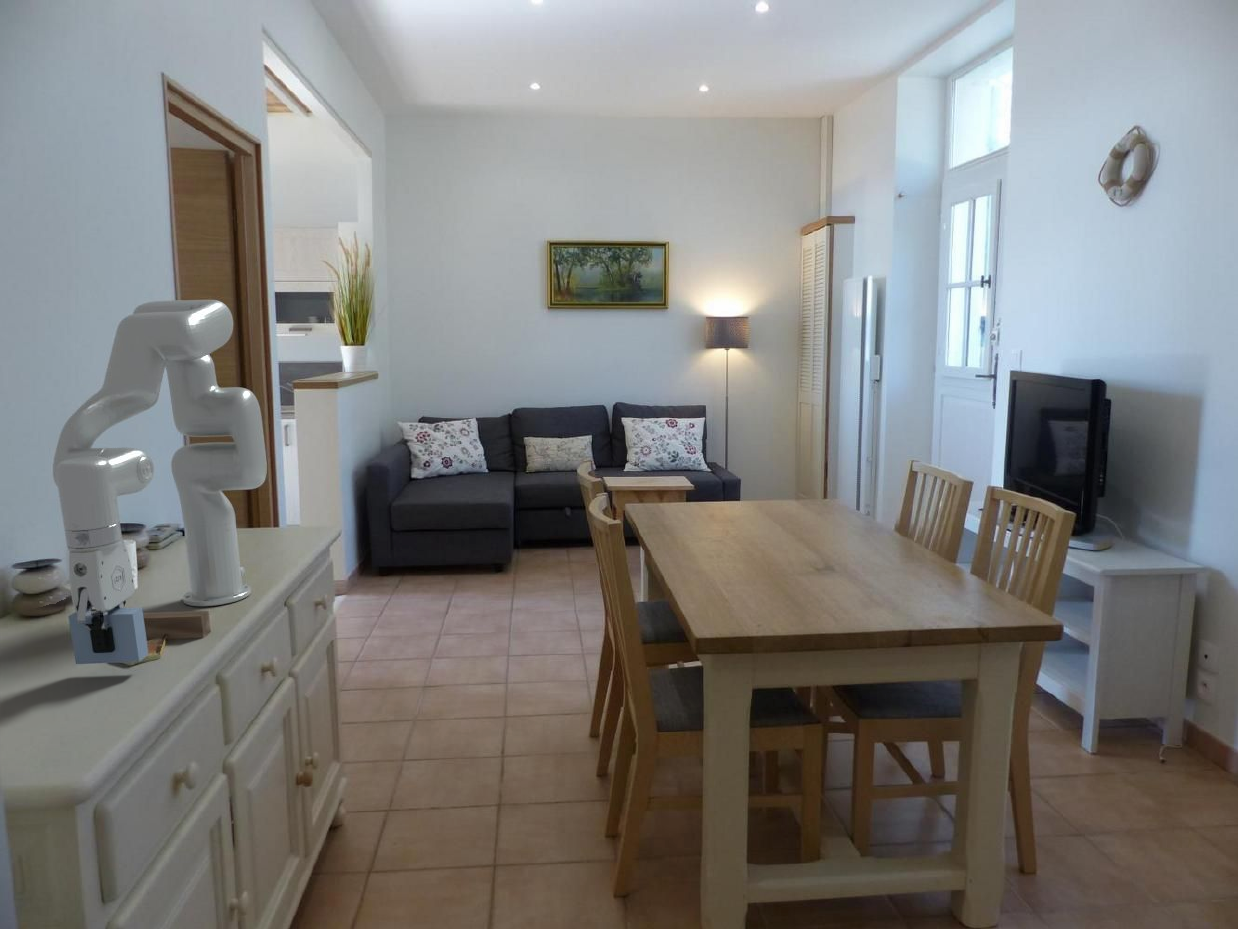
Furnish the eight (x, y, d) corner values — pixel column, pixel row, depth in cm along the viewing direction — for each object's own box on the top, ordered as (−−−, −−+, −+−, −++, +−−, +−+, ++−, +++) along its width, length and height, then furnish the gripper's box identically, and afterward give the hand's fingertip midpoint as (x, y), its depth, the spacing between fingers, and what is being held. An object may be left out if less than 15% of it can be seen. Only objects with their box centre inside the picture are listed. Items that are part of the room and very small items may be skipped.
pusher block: (86, 656, 148) (79, 609, 146) (148, 654, 148) (142, 607, 146) (75, 664, 145) (68, 616, 143) (139, 661, 145) (132, 614, 143)
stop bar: (127, 634, 165) (124, 613, 164) (210, 631, 165) (208, 610, 164) (118, 640, 162) (115, 619, 161) (203, 637, 162) (201, 616, 161)
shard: (167, 641, 162) (166, 632, 162) (195, 648, 159) (194, 638, 158) (108, 663, 153) (107, 652, 152) (137, 670, 149) (136, 660, 149)
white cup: (103, 598, 188) (96, 551, 186) (95, 590, 194) (89, 544, 192) (145, 590, 193) (139, 544, 191) (136, 582, 199) (130, 537, 197)
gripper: (89, 550, 134) (106, 667, 138) (144, 522, 150) (158, 627, 154) (37, 552, 134) (56, 669, 138) (98, 523, 150) (114, 629, 154)
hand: (110, 646), depth 146 cm, fingers closed on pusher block, 3 cm apart
